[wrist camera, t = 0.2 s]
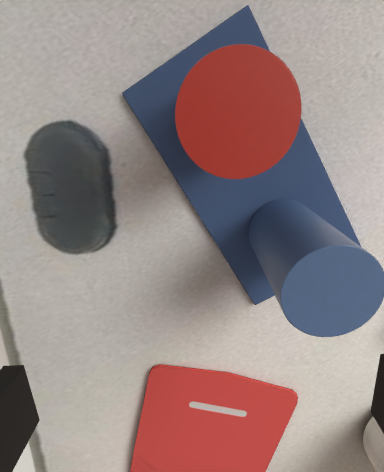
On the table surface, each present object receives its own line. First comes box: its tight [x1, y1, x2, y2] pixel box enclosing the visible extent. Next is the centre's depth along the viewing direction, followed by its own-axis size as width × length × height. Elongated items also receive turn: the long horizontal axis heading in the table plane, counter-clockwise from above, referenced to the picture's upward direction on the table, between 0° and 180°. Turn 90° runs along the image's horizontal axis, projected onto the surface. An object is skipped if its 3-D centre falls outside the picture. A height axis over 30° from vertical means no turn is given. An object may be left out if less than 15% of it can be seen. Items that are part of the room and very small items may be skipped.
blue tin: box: [248, 199, 384, 337], centre depth 25 cm, size 6×6×12 cm
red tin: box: [175, 44, 301, 179], centre depth 22 cm, size 6×6×12 cm
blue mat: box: [122, 5, 361, 305], centre depth 29 cm, size 24×12×1 cm, turn 31°
